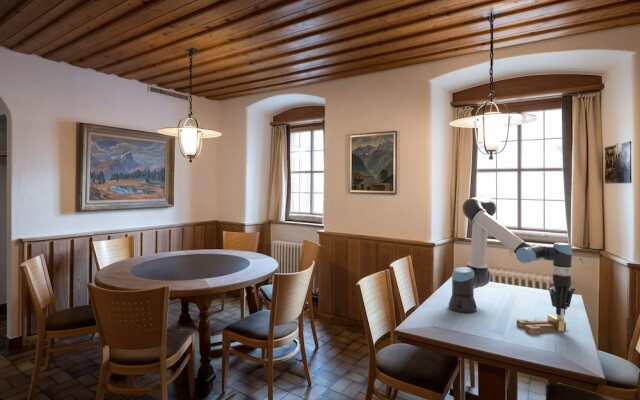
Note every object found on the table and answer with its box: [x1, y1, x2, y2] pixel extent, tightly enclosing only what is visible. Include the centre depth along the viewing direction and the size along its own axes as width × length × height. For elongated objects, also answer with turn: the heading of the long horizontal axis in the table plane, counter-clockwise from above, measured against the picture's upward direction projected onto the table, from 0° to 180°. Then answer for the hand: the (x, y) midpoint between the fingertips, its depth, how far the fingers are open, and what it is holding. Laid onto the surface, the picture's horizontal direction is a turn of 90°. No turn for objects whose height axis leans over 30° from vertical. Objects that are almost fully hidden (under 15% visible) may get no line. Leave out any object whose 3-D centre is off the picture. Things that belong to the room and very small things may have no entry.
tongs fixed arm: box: [524, 323, 558, 335], centre depth 174 cm, size 4×18×3 cm, turn 97°
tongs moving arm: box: [516, 319, 567, 330], centre depth 180 cm, size 6×22×3 cm, turn 91°
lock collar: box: [547, 314, 566, 332], centre depth 177 cm, size 7×3×5 cm, turn 7°
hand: (560, 321), depth 177 cm, fingers closed
